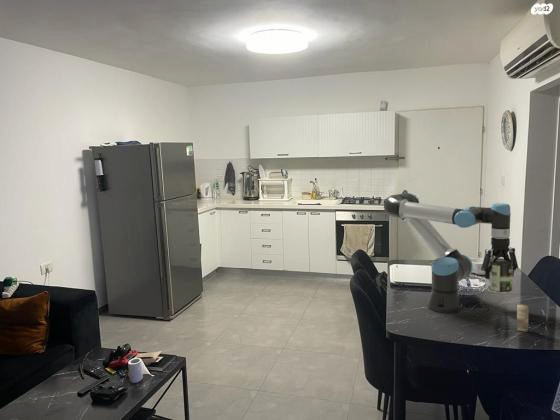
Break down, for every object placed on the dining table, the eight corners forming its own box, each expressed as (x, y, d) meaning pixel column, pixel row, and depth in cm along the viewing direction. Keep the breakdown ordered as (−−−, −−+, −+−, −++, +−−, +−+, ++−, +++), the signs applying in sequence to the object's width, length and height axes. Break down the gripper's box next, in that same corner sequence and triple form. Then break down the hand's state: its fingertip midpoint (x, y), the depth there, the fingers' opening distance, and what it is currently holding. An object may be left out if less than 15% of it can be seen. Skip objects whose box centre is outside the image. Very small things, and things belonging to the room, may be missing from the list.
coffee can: (512, 288, 192) (513, 259, 191) (511, 295, 184) (512, 264, 182) (488, 285, 198) (488, 257, 196) (486, 292, 189) (486, 262, 187)
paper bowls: (462, 270, 258) (462, 258, 257) (485, 269, 260) (485, 256, 259) (476, 277, 243) (476, 264, 242) (500, 275, 245) (500, 262, 244)
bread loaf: (521, 332, 167) (522, 308, 166) (514, 328, 171) (514, 305, 170) (530, 330, 168) (530, 307, 167) (522, 327, 172) (523, 304, 171)
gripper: (483, 240, 182) (482, 289, 185) (528, 236, 186) (526, 284, 189) (472, 237, 190) (472, 284, 192) (516, 234, 194) (514, 279, 196)
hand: (499, 284), depth 191 cm, fingers closed on coffee can, 10 cm apart
